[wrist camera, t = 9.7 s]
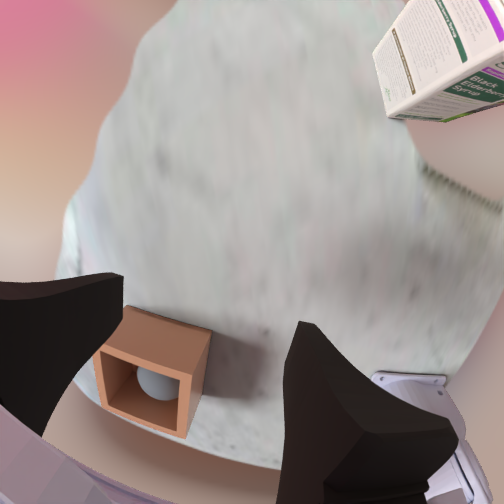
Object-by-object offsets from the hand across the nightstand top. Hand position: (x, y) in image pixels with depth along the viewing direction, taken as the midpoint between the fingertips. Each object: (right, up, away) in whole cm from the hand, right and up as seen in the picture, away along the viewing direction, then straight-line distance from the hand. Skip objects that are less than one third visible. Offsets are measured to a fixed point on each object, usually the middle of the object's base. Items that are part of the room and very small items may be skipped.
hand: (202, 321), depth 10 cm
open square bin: (-6, -7, +13) cm, 16 cm away
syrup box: (+14, +16, +6) cm, 22 cm away
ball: (-6, -7, +12) cm, 15 cm away
